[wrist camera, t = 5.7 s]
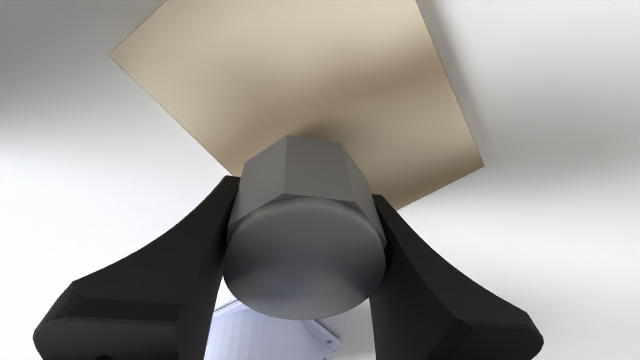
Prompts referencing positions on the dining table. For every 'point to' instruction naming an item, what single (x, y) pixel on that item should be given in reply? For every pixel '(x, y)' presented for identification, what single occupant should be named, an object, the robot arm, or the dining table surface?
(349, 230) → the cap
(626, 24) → the dining table surface
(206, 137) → the board
